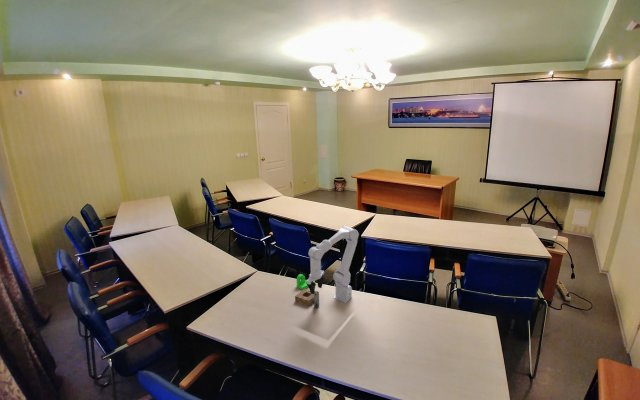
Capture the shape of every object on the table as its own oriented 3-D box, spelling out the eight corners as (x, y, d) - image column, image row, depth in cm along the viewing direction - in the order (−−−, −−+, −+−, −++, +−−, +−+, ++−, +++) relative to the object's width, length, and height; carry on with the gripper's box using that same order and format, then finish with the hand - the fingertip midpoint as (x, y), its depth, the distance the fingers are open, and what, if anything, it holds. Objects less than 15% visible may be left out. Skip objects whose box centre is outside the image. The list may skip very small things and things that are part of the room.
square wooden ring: (318, 298, 173) (318, 293, 172) (308, 306, 165) (308, 300, 164) (305, 293, 178) (304, 288, 177) (295, 301, 170) (295, 296, 169)
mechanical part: (302, 290, 183) (301, 278, 181) (296, 286, 187) (296, 275, 186) (316, 284, 190) (316, 273, 188) (311, 280, 195) (311, 270, 193)
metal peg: (320, 306, 165) (319, 292, 163) (317, 308, 162) (317, 294, 160) (315, 304, 166) (315, 290, 164) (312, 307, 164) (312, 293, 162)
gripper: (316, 262, 167) (317, 283, 170) (302, 271, 155) (302, 294, 158) (327, 264, 163) (327, 286, 166) (312, 274, 152) (313, 297, 154)
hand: (316, 290), depth 162 cm, fingers open, 7 cm apart
